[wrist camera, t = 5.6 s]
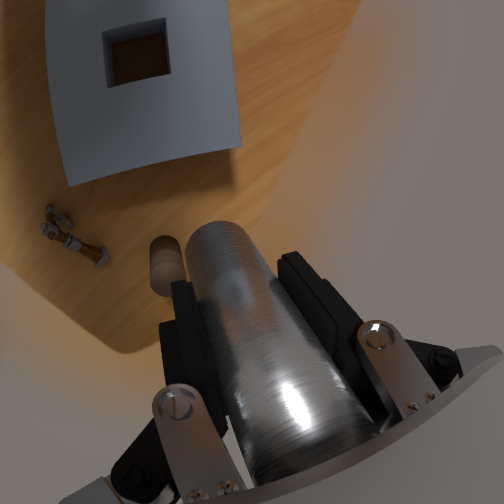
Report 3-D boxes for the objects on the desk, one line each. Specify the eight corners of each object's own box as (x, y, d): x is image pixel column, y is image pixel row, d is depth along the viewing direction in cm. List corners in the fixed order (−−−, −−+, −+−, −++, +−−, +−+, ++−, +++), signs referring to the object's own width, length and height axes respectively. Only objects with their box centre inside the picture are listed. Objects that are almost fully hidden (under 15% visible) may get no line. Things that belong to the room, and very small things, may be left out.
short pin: (146, 239, 28) (145, 271, 23) (176, 232, 29) (181, 262, 24) (154, 265, 30) (155, 300, 25) (182, 258, 30) (189, 291, 25)
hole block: (62, 2, 13) (46, -14, 9) (209, -28, 16) (221, -50, 12) (83, 172, 23) (69, 187, 18) (227, 139, 26) (241, 146, 21)
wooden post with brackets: (46, 194, 21) (45, 224, 19) (101, 230, 28) (108, 259, 26) (36, 207, 22) (34, 238, 19) (91, 240, 28) (97, 270, 26)
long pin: (178, 229, 12) (261, 508, 3) (247, 214, 13) (413, 435, 4) (192, 286, 14) (267, 516, 5) (253, 271, 15) (372, 472, 6)
